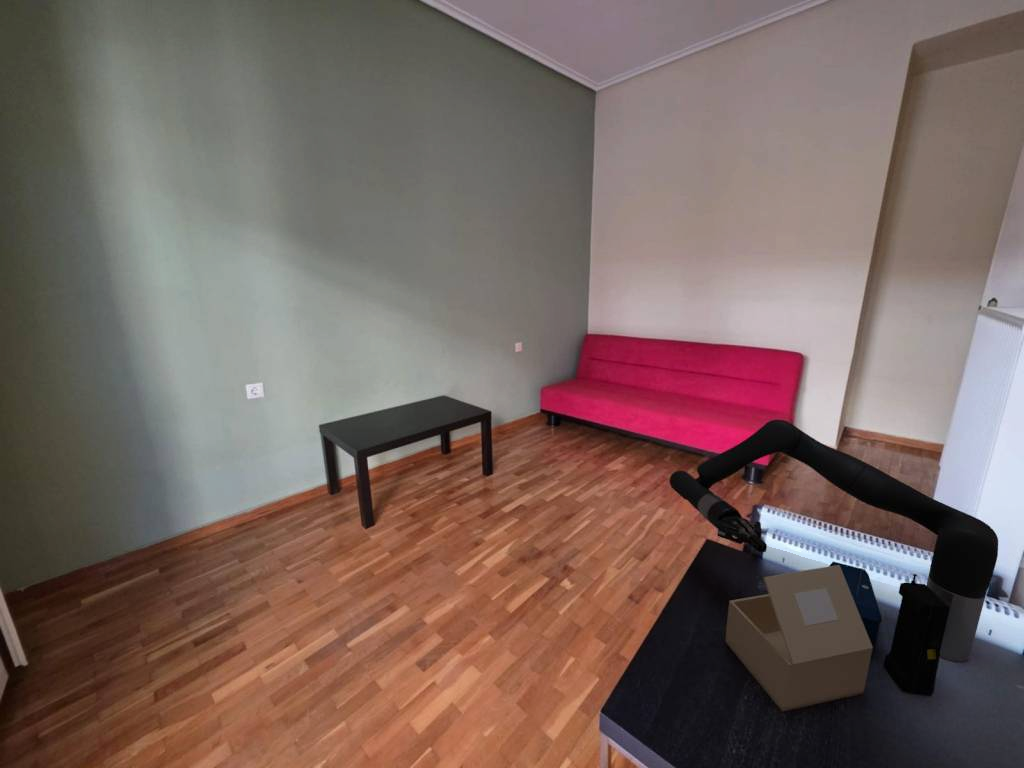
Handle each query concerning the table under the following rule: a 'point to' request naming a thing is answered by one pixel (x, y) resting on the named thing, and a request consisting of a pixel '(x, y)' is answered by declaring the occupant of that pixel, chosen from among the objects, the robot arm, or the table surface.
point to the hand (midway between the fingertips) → (763, 549)
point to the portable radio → (917, 639)
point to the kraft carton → (771, 666)
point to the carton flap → (816, 614)
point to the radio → (863, 599)
